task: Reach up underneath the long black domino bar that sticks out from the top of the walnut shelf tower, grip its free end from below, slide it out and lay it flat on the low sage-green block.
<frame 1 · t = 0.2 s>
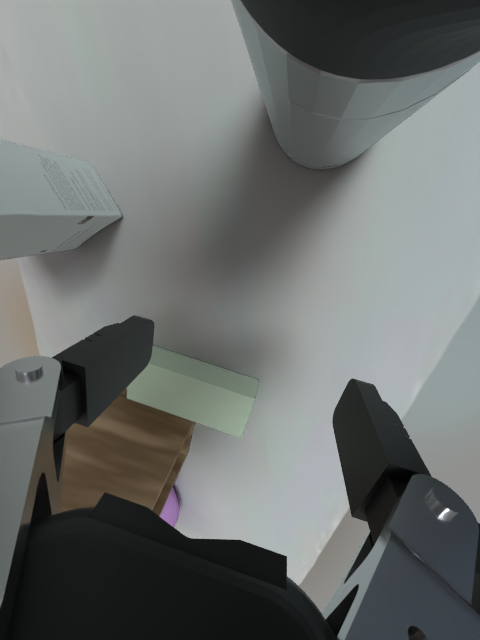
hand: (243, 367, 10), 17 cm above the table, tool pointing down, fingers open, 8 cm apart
shelf tower: (147, 417, 39), on the table
green block: (196, 380, 34), on the table
skincare box: (85, 206, 27), on the table
teapot: (135, 483, 49), on the table
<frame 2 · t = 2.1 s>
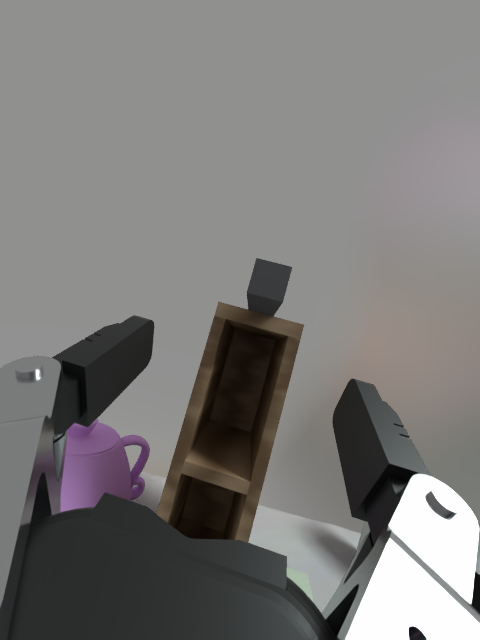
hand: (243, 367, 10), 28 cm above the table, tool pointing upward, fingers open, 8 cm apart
shelf tower: (188, 576, 30), on the table
domino bar: (259, 317, 29), point 32 cm above the table, touching shelf tower
teapot: (47, 516, 33), on the table
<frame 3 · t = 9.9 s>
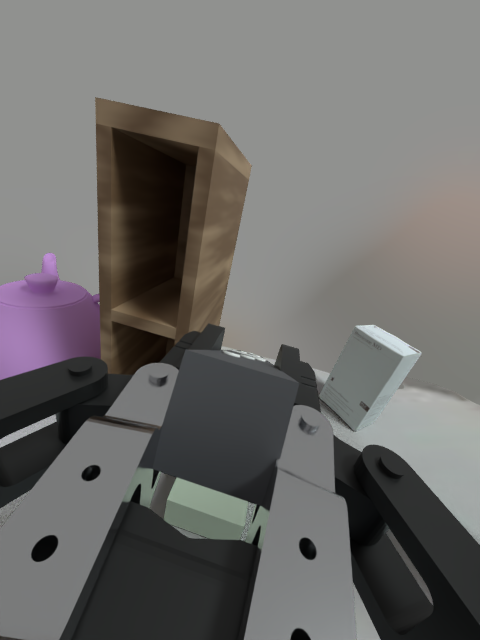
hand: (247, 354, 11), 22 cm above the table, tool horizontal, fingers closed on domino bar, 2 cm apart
shelf tower: (164, 396, 37), on the table
domino bar: (238, 392, 17), point 16 cm above the table, tilted 30°, touching gripper
green block: (221, 457, 30), on the table
skincare box: (346, 411, 43), on the table
teapot: (52, 355, 40), on the table
when the fingers open (7 cm above the table, at t = 13.0 s): domino bar drops 1 cm, resting on green block.
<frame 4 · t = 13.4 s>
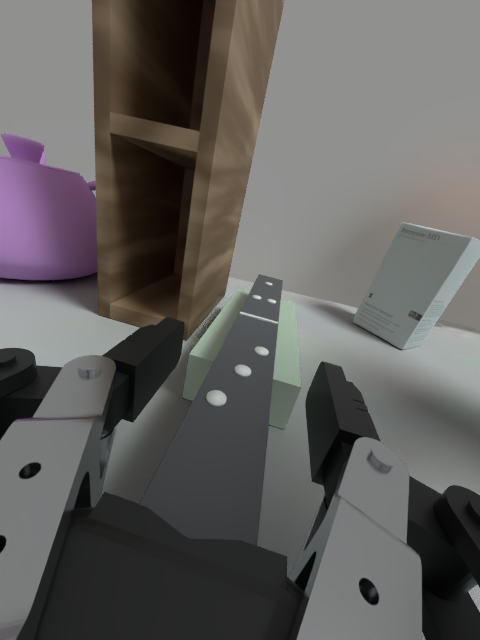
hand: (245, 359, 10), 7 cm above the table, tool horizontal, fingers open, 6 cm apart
shelf tower: (174, 302, 30), on the table
domino bar: (249, 352, 17), point 3 cm above the table, touching green block
green block: (250, 353, 24), on the table
skincare box: (385, 335, 37), on the table
teapot: (40, 262, 34), on the table
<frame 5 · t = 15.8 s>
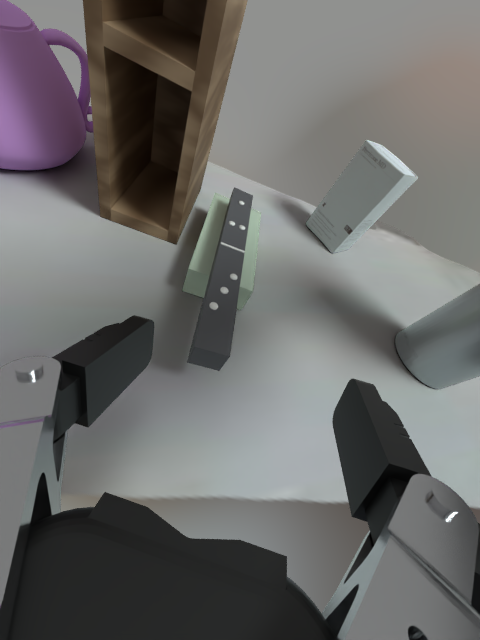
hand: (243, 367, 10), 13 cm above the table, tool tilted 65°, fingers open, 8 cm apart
shelf tower: (158, 200, 35), on the table
domino bar: (224, 266, 27), point 3 cm above the table, touching green block
green block: (222, 256, 33), on the table
skincare box: (327, 239, 47), on the table
teapot: (3, 132, 31), on the table
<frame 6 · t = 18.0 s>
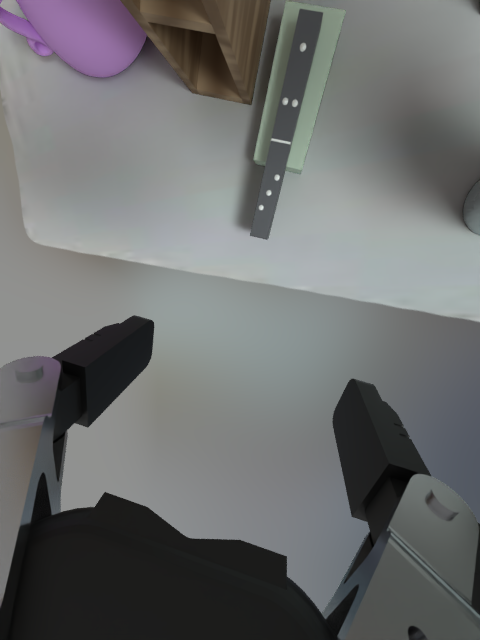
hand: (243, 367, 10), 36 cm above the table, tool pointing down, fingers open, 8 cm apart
shelf tower: (231, 28, 33), on the table
domino bar: (281, 146, 34), point 3 cm above the table, touching green block
green block: (294, 104, 35), on the table
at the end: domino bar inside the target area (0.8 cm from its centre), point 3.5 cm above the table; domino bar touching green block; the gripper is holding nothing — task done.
